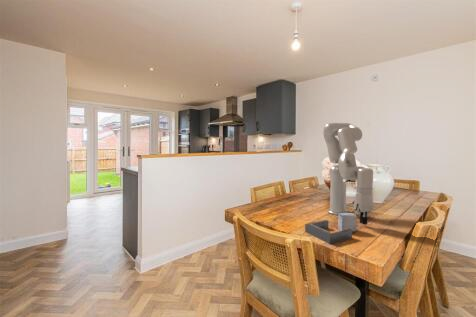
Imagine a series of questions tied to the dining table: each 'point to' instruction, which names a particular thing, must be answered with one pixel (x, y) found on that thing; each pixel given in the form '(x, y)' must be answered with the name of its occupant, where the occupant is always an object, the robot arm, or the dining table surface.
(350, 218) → the medicine box
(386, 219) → the dining table surface
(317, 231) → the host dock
